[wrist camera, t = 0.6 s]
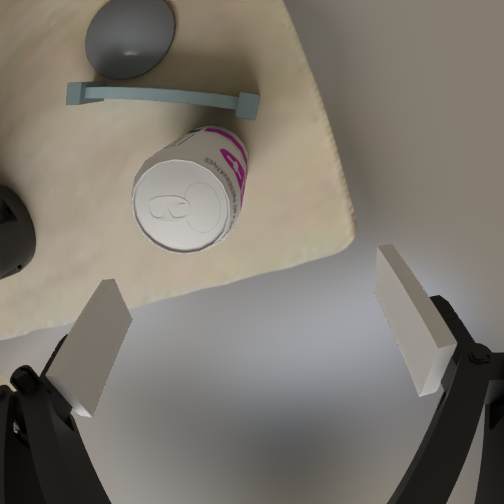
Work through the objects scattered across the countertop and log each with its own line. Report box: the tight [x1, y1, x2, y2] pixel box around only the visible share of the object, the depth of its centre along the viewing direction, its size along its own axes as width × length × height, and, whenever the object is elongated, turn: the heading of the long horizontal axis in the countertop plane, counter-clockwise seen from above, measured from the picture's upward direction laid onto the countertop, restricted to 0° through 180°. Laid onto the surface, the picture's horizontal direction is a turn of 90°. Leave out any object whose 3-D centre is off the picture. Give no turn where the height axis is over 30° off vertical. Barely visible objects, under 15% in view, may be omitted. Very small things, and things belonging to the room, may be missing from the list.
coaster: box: [85, 0, 175, 79], centre depth 26 cm, size 11×11×1 cm
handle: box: [66, 81, 260, 120], centre depth 27 cm, size 20×2×6 cm, turn 80°
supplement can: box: [132, 125, 248, 255], centre depth 27 cm, size 8×8×15 cm
